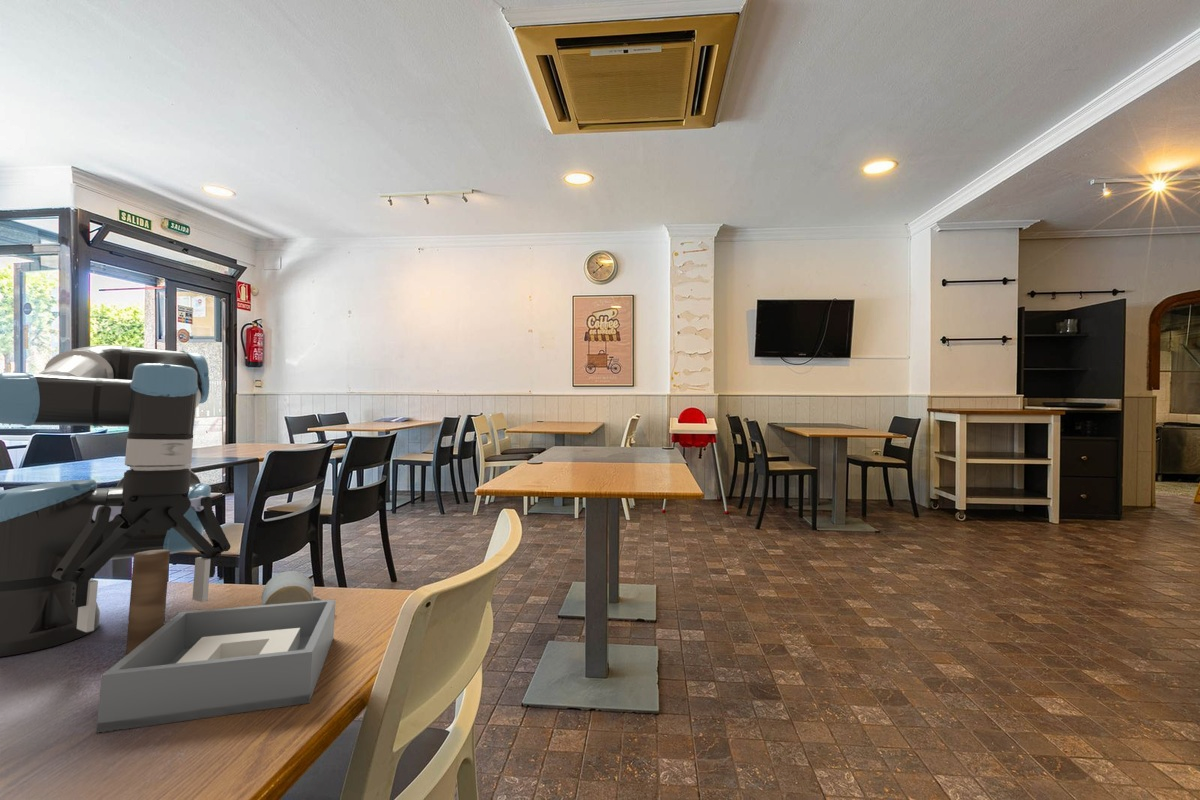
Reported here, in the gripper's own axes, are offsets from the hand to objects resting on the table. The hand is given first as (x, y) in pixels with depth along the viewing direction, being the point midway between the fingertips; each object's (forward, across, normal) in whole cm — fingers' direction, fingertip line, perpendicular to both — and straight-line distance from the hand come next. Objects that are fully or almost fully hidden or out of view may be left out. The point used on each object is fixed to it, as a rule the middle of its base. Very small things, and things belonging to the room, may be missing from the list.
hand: (147, 614), depth 74 cm
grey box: (+5, +1, -20) cm, 21 cm away
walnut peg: (+5, 0, 0) cm, 5 cm away
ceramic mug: (+6, +18, -8) cm, 20 cm away
